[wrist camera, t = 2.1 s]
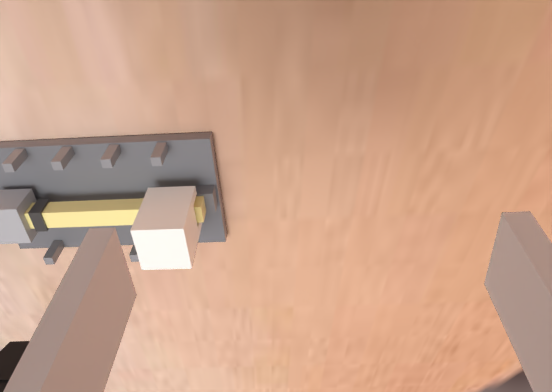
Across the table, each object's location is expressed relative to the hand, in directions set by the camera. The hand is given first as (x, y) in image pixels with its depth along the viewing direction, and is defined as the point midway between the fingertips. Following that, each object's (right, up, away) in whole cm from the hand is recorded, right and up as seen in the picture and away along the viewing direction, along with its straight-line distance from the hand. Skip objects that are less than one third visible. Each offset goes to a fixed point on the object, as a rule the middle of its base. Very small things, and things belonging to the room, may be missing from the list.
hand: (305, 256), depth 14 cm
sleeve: (-9, +1, +28) cm, 29 cm away
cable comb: (-16, +2, +30) cm, 34 cm away
